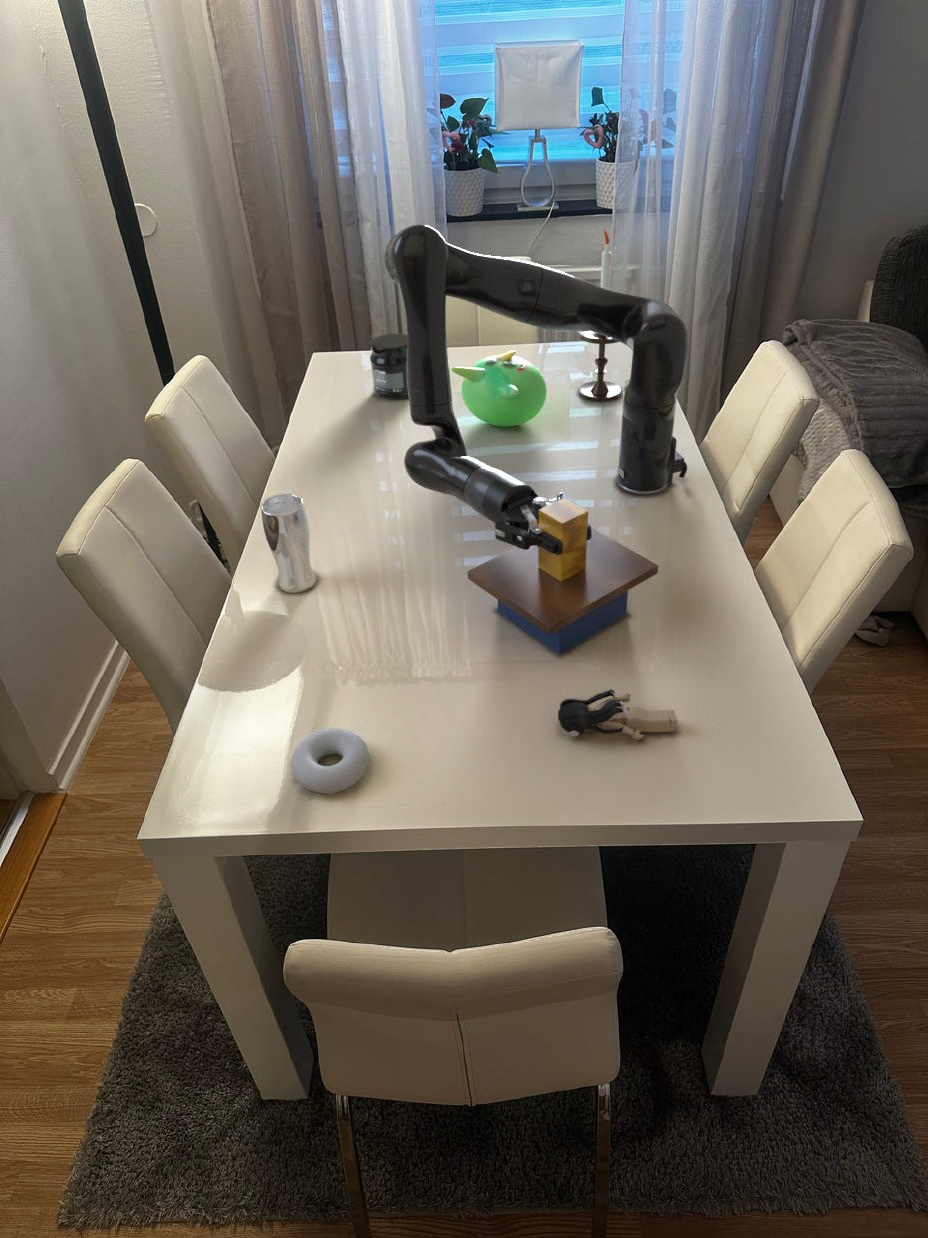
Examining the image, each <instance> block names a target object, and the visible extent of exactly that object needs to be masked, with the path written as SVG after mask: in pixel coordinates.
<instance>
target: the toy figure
mask: <svg viewBox="0 0 928 1238" xmlns="http://www.w3.org/2000/svg"><path fill="white" fill-rule="evenodd" d="M615 696H616V692H615V690H614V689H612V688H611V687H609V688H607V690H604V691H603V690H601V691H600V692H599V693H594V694H593V695H591V696H590V697H588V698H587V699H580V698H578V697H575V698H565V697H564V698H562V699H560V702H559V703H558V704H559V709H558V712H557V719H558V722H559V724H560V727H561V728H562V729H563V731H564V734H565V735H568V736H570V737H572V738H575V737H577V736H579V735H581V734H582V735H583V734H584V735H585V734H591V733H601V734H604V735H611V734H616V733H617V734H619V733H623V734H627V735H629V736H631V737H632V739H633V740H641V739H642V738H643V737H644V736H645V735H644V734H641V733H642V732H643V733H665V732H668V733H669V732H675V730H676V728H677V724H678V718H677V715H676V713H675V710H674V709H662V710H660V709H657V710H656V709H655V710H646V709H641V708H636V707H632V708H629V707H628V706H627V704H626V703H629V702H630V701H631V696H632V694H631V693H628V692H627V693H623V695H621V696H617V697H615ZM608 697H611V698H608ZM605 698H607V699H606V700H604V701H602V702H600V703H598V704H596V705H595V706H594V707H593V708H591V706H590V705H591V704H594V703H595V702H597V701H600V700H602V699H605ZM561 700H562V701H561ZM622 702H623V703H622Z"/></svg>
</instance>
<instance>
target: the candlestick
mask: <svg viewBox="0 0 928 1238" xmlns="http://www.w3.org/2000/svg"><path fill="white" fill-rule="evenodd" d="M603 235H604V240H605V248H604V251H602V252H601V269H600V287H602V288H604V289H607V290H610V286H611V268H612V251H610V247H609V246H610V245H609V244H610V238H609V235H608V232H607V230H606V229H603ZM576 333H577V334H576V336H577V338H578V339H580V341H583V342H586V343H589V344H593V345H594V344H595V345H598V357H596V358H595V359H594V363H595V365H596V366H597V369H595V372H594V373H595V374H597V377H596V379H597V380H593V381H588V382H586V383H585V382H584V383H583V384H582V385H581V386H580V387H579V396H580V397H581V398H582V399H584V400H587V401H589V402H598V403H603V402H609V401H614V400H615V399H617V398H618V397H620V396H621V387H620V385H618V384H616V383H614V382H611V381H606V380H604V376H605V375H606V374H607V370H606V369H605V368H606V367H605V366H607V364H608V362H609V360H608V357H606V356H605V355H606V354H605V353H606V345H611V344H616V343H620V342H619V341H617V340H614V339H612V338H609V337H607V336H604V335H601V334H598V333H594V332H589V331H576Z"/></svg>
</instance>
